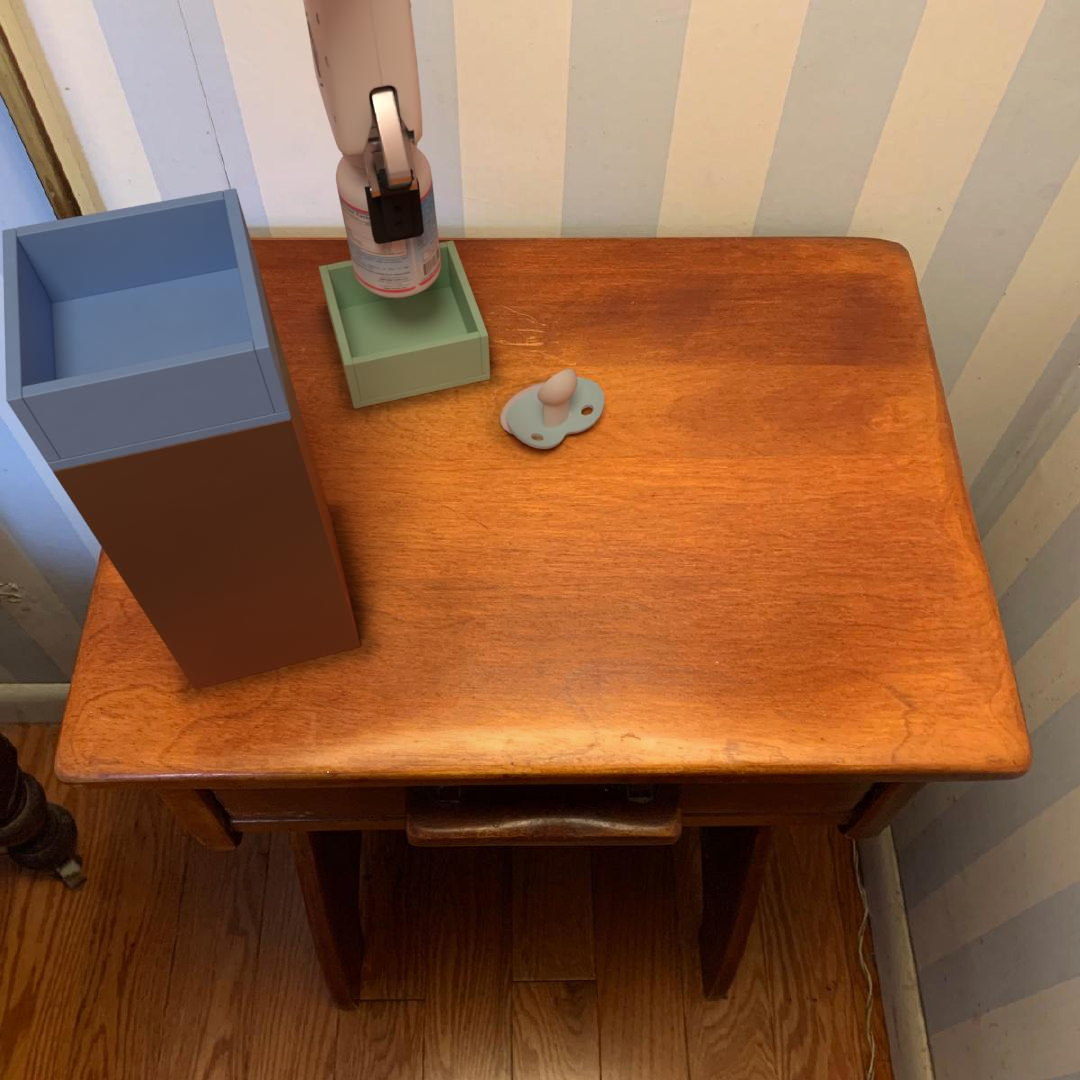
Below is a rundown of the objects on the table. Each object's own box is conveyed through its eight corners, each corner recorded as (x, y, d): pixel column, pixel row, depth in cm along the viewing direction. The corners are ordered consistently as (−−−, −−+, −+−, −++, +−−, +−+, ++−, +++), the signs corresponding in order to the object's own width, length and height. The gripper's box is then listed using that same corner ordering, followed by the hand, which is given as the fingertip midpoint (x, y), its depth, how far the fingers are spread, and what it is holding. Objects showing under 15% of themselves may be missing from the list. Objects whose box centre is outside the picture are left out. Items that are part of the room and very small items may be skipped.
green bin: (354, 409, 74) (344, 365, 70) (328, 311, 79) (318, 266, 75) (490, 379, 76) (488, 335, 72) (456, 285, 81) (453, 239, 77)
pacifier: (482, 418, 74) (530, 471, 71) (476, 355, 69) (528, 410, 66) (564, 374, 76) (613, 424, 73) (565, 311, 71) (618, 362, 68)
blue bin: (194, 690, 62) (5, 400, 40) (176, 552, 67) (1, 229, 45) (360, 647, 64) (269, 346, 41) (331, 516, 69) (235, 187, 47)
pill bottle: (410, 230, 74) (393, 86, 64) (458, 278, 71) (447, 135, 62) (337, 264, 72) (308, 121, 62) (383, 315, 69) (359, 173, 60)
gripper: (246, -160, 55) (307, 132, 70) (299, 13, 46) (356, 306, 61) (383, -177, 57) (414, 114, 72) (460, -12, 48) (477, 281, 63)
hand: (387, 200), depth 66 cm, fingers closed on pill bottle, 6 cm apart
